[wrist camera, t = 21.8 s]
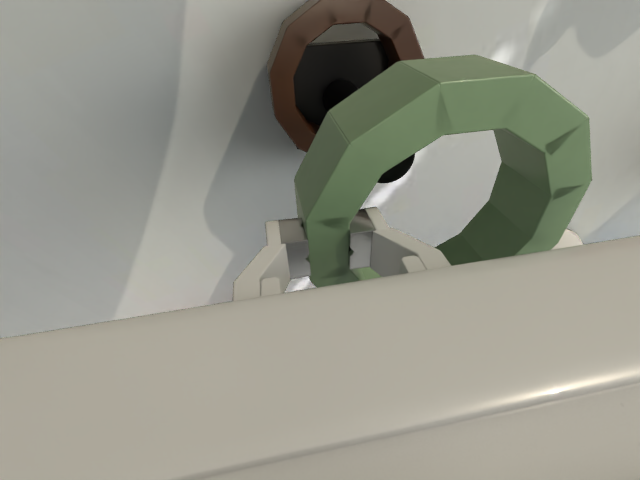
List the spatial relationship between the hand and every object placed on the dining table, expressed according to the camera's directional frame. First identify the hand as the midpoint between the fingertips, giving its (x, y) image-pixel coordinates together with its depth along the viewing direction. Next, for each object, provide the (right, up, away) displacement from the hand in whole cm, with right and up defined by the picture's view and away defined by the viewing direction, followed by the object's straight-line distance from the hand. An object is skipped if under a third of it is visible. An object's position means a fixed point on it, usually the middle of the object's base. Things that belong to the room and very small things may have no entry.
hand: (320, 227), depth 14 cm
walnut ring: (+2, +12, +13) cm, 18 cm away
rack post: (+1, +12, +15) cm, 19 cm away
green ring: (+4, +2, +2) cm, 5 cm away
